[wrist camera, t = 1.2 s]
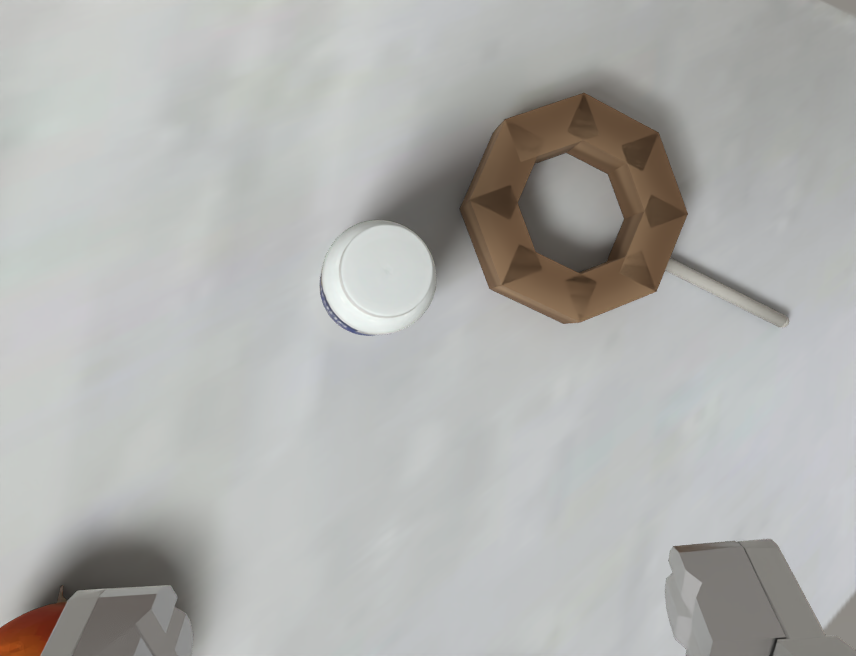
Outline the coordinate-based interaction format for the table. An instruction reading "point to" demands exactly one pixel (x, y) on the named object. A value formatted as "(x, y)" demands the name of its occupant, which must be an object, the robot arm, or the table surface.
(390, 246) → the pill bottle
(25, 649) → the fruit
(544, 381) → the table surface
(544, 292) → the walnut ring
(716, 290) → the grey rod
